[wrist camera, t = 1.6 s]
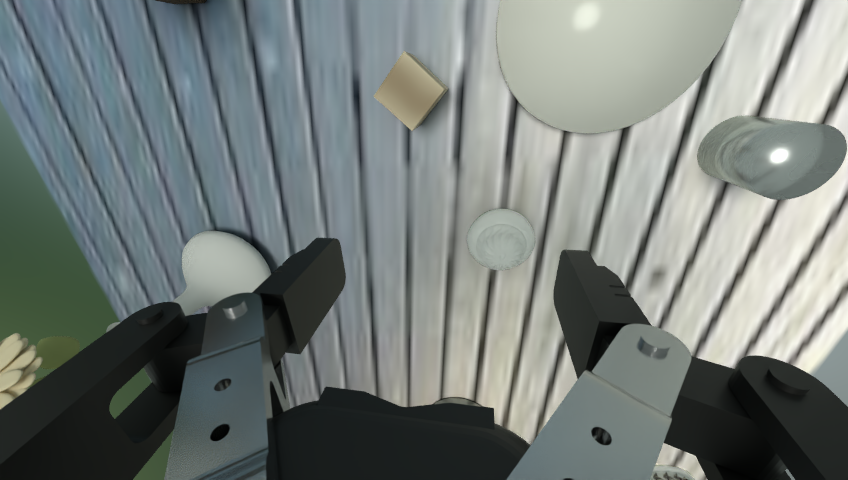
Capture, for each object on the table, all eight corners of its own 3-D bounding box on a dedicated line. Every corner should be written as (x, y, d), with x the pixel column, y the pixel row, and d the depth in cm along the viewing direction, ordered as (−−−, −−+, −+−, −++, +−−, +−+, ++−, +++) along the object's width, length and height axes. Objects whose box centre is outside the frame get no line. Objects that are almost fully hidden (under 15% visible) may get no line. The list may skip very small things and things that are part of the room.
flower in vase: (287, 249, 38) (19, 483, 16) (271, 314, 43) (54, 557, 21) (185, 203, 37) (-247, 380, 15) (182, 274, 42) (-141, 483, 20)
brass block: (420, 125, 29) (412, 130, 26) (386, 94, 28) (373, 96, 25) (448, 88, 27) (444, 89, 24) (413, 55, 27) (404, 51, 23)
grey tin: (703, 186, 28) (757, 211, 22) (691, 135, 26) (745, 148, 21) (773, 159, 26) (849, 179, 21) (764, 103, 24) (843, 108, 19)
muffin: (465, 248, 34) (462, 285, 28) (470, 194, 31) (469, 222, 25) (523, 254, 33) (534, 293, 27) (534, 199, 31) (549, 229, 24)
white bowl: (540, 163, 29) (543, 167, 28) (461, -22, 24) (460, -28, 23) (749, 62, 23) (766, 61, 22) (704, -206, 18) (722, -229, 17)
